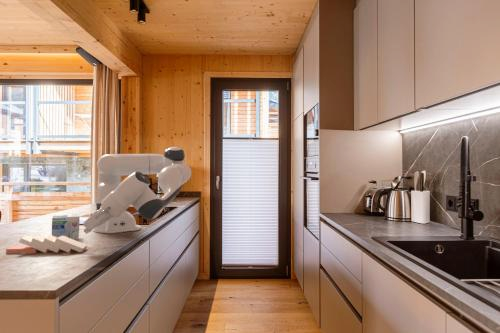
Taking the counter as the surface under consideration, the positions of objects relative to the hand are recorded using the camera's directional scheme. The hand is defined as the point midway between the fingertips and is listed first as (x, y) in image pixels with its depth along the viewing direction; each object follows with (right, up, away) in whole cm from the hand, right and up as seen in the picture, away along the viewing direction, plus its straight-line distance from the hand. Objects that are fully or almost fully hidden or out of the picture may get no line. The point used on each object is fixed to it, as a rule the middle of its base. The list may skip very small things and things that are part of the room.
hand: (86, 231), depth 124 cm
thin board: (-8, -8, -1) cm, 12 cm away
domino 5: (-1, -7, 0) cm, 7 cm away
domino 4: (-5, -6, 0) cm, 8 cm away
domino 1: (-17, -6, -2) cm, 18 cm away
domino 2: (-13, -6, -1) cm, 15 cm away
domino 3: (-9, -6, -1) cm, 11 cm away
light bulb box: (-20, -8, +22) cm, 31 cm away
